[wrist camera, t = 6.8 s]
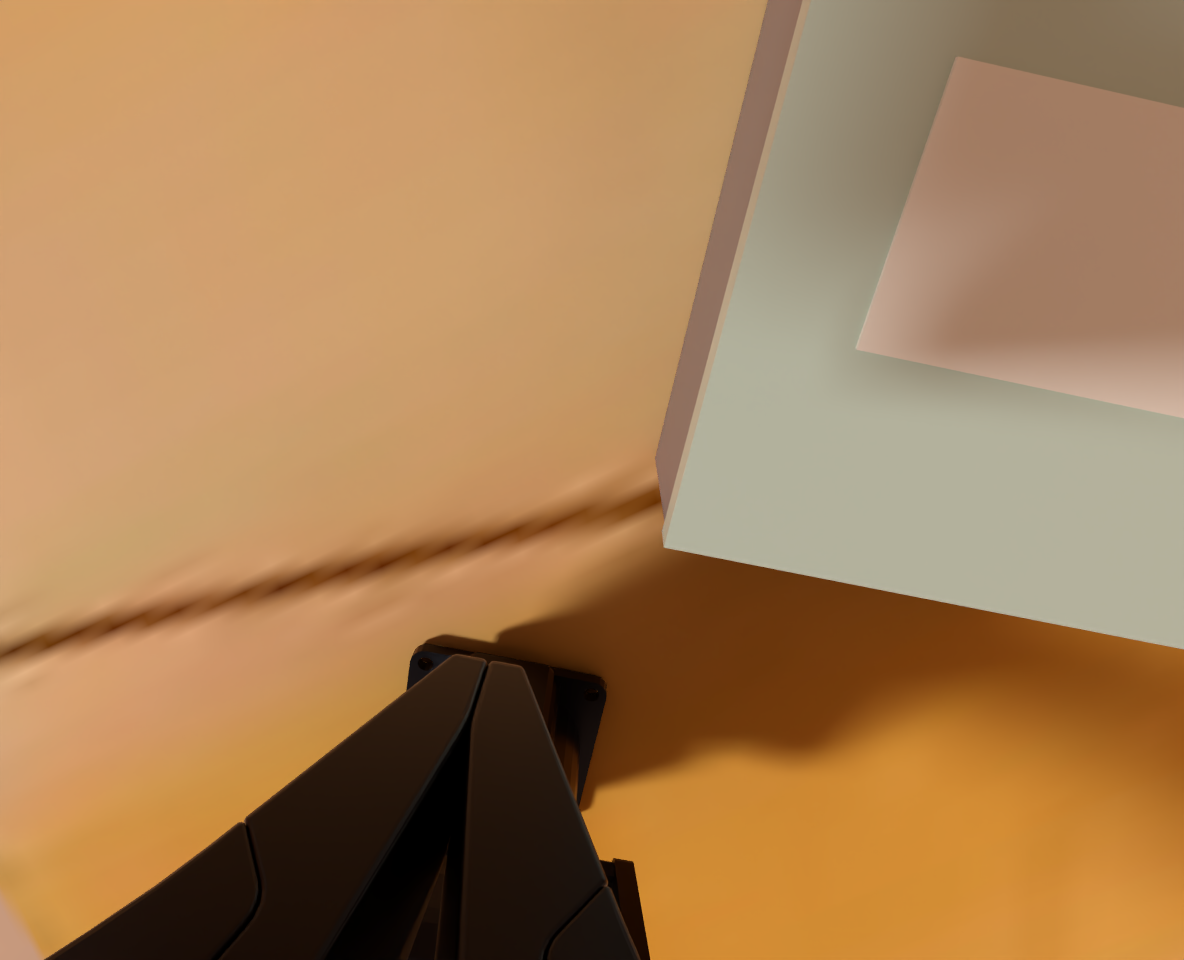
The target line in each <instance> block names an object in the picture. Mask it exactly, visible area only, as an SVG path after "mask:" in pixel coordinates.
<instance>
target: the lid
mask: <svg viewBox="0 0 1184 960" xmlns="http://www.w3.org/2000/svg"><path fill="white" fill-rule="evenodd" d="M662 536H663V545H664V548H669V549H674V550H679V551H684V552H689V553H694V554H700V555H705V556H710V557H715V558H720V559H725V560H730V561H735V562H740V563H746V564H751V565H756V566H761V567H766V568H771V569H776V570H781V571H786V572H791V573H797V574H802V575H807V576H812V577H817V578H822V579H827V580H832V581H837V582H843V583H848V584H853V585H858V586H863V587H868V588H873V589H878V590H883V591H888V592H894V593H899V594H904V595H909V596H914V597H919V598H924V599H929V600H934V601H940V602H945V603H950V604H955V605H960V606H965V607H970V608H975V609H980V610H985V611H991V612H996V613H1001V614H1006V615H1011V616H1016V617H1021V618H1026V619H1031V620H1037V621H1042V622H1047V623H1052V624H1057V625H1062V626H1067V627H1072V628H1077V629H1082V630H1088V631H1093V632H1098V633H1103V634H1108V635H1113V636H1118V637H1123V638H1128V639H1134V640H1139V641H1144V642H1149V643H1154V644H1159V645H1164V646H1169V647H1174V648H1179V649H1184V0H803V1H802V4H801V8H800V12H799V16H798V20H797V23H796V27H795V31H794V35H793V38H792V42H791V46H790V50H789V53H788V57H787V61H786V65H785V69H784V72H783V76H782V80H781V84H780V87H779V91H778V95H777V99H776V103H775V106H774V110H773V114H772V118H771V121H770V125H769V129H768V133H767V137H766V140H765V144H764V148H763V152H762V155H761V159H760V163H759V167H758V170H757V174H756V178H755V182H754V186H753V189H752V193H751V197H750V201H749V204H748V208H747V212H746V216H745V220H744V223H743V227H742V231H741V235H740V238H739V242H738V246H737V250H736V253H735V257H734V261H733V265H732V269H731V272H730V276H729V280H728V284H727V287H726V291H725V295H724V299H723V303H722V306H721V310H720V314H719V318H718V321H717V325H716V329H715V333H714V337H713V340H712V344H711V348H710V352H709V355H708V359H707V363H706V367H705V370H704V374H703V378H702V382H701V386H700V389H699V393H698V397H697V401H696V404H695V408H694V412H693V416H692V420H691V423H690V427H689V431H688V435H687V438H686V442H685V446H684V450H683V453H682V457H681V461H680V465H679V469H678V472H677V476H676V480H675V484H674V487H673V491H672V495H671V499H670V503H669V506H668V510H667V514H666V518H665V521H664V525H663V529H662Z"/></svg>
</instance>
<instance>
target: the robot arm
mask: <svg viewBox="0 0 1184 960" xmlns="http://www.w3.org/2000/svg"><path fill="white" fill-rule="evenodd" d="M421 658H429V659H431V661H432V662H433V663H426V662H424V661H423V660H422V659H421ZM606 688H607V685H606V683H605V681H604V680H603V679H602V678H601V677H598V676H596V675H591V674H586V673H581V672H575V671H570V670H565V669H559V668H554V667H549V666H548V665H543V664H538V663H533V662H527V661H522V660H517V659H511V658H506V657H501V656H495V655H490V654H485V653H479V652H476V653H474V652H469V651H464V650H458V649H453V648H448V647H442V646H437V645H432V644H423V645H420V646H418V647H417V648H416V649H415V651H414V653H413V656H412V658H411V661H410V667H409V675H408V682H407V690H406V692H405V693H403V694H402V695H401V696H400V697H398V698H397V699H396V700H395V701H393V702H392V703H391V704H389V705H388V706H387V707H386V708H384V709H383V710H382V711H381V712H379V713H378V714H377V715H375V716H374V717H373V718H372V719H370V720H369V721H368V722H366V723H365V724H364V725H363V726H361V727H360V728H359V729H358V730H356V731H355V732H354V733H352V734H351V735H350V736H349V737H347V738H346V739H345V740H344V741H342V742H341V743H340V744H338V745H337V746H336V747H335V748H333V749H332V750H331V751H330V752H328V753H327V754H326V755H324V756H323V757H322V758H321V759H319V760H318V761H317V762H316V763H314V764H313V765H312V766H310V767H309V768H308V769H307V770H305V771H304V772H303V773H302V774H300V775H299V776H298V777H296V778H295V779H294V780H293V781H291V782H290V783H289V784H288V785H286V786H285V787H284V788H282V789H281V790H280V791H279V792H277V793H276V794H275V795H274V796H272V797H271V798H270V799H268V800H267V801H266V802H265V803H263V804H262V805H261V806H260V807H258V808H257V809H256V810H254V811H253V812H252V813H251V814H249V815H248V816H247V817H246V818H245V820H244V823H243V822H239V823H237V824H236V825H235V826H233V827H232V828H231V829H230V830H228V831H227V832H226V833H225V834H223V835H222V836H221V837H219V838H218V839H217V840H216V841H214V842H213V843H212V844H211V845H209V846H208V847H207V848H205V849H204V850H203V851H201V852H200V853H199V854H197V855H196V856H195V857H193V858H192V859H191V860H189V861H188V862H187V863H185V864H184V865H183V866H181V867H180V868H178V869H177V870H176V871H174V872H173V873H172V874H170V875H169V876H168V877H166V878H165V879H164V880H162V881H161V882H160V883H158V884H157V885H156V886H154V887H153V888H151V889H150V890H148V891H147V892H145V893H144V894H142V895H141V896H139V897H138V898H136V899H135V900H134V901H132V902H131V903H129V904H128V905H126V906H125V907H123V908H122V909H120V910H119V911H117V912H116V913H114V914H113V915H111V916H110V917H108V918H107V919H105V920H104V921H103V922H101V923H100V924H98V925H97V926H95V927H94V928H92V929H91V930H89V931H88V932H86V933H85V934H83V935H81V936H80V937H78V938H77V939H75V940H74V941H72V942H71V943H69V944H68V945H66V946H64V947H63V948H61V949H60V950H58V951H57V952H55V953H54V954H52V955H51V956H49V957H48V958H46V959H44V960H650V955H649V950H648V944H647V938H646V932H645V926H644V921H643V915H642V909H641V903H640V897H639V892H638V886H637V880H636V874H635V868H634V863H633V862H632V861H627V860H621V859H616V858H614V859H613V861H612V862H609V861H604V860H599V857H598V855H597V852H596V850H595V847H594V845H593V842H592V840H591V837H590V835H589V832H588V830H587V827H586V825H585V822H584V819H583V817H582V814H581V812H580V809H579V804H580V800H581V796H582V792H583V788H584V784H585V780H586V776H587V772H588V768H589V764H590V760H591V756H592V752H593V748H594V744H595V741H596V737H597V733H598V729H599V725H600V721H601V717H602V713H603V709H604V705H605V701H606ZM587 689H595V690H597V691H598V692H596V693H594V694H590V693H588V692H586V690H587Z"/></svg>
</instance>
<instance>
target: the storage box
mask: <svg viewBox="0 0 1184 960" xmlns="http://www.w3.org/2000/svg"><path fill="white" fill-rule="evenodd" d="M802 1H803V0H768V3H767V7H766V11H765V15H764V20H763V24H762V28H761V32H760V36H759V40H758V44H757V48H756V52H755V56H754V60H753V64H752V68H751V72H750V76H749V80H748V84H747V88H746V92H745V97H744V101H743V105H742V109H741V113H740V117H739V121H738V125H737V129H736V133H735V137H734V141H733V145H732V149H731V153H730V157H729V161H728V165H727V169H726V174H725V178H724V182H723V186H722V190H721V194H720V198H719V202H718V206H717V210H716V214H715V218H714V222H713V226H712V230H711V234H710V238H709V242H708V246H707V251H706V255H705V259H704V263H703V267H702V271H701V275H700V279H699V283H698V287H697V291H696V295H695V299H694V303H693V307H692V311H691V315H690V319H689V323H688V327H687V332H686V336H685V340H684V344H683V348H682V352H681V356H680V360H679V364H678V368H677V372H676V376H675V380H674V384H673V388H672V392H671V396H670V400H669V404H668V409H667V413H666V417H665V421H664V425H663V429H662V433H661V437H660V441H659V445H658V449H657V453H656V457H655V460H656V467H657V473H658V480H659V487H660V494H661V500H662V507H663V514H664V521H665V518H666V514H667V510H668V506H669V503H670V499H671V495H672V491H673V487H674V484H675V480H676V476H677V472H678V469H679V465H680V461H681V457H682V453H683V450H684V446H685V442H686V438H687V435H688V431H689V427H690V423H691V420H692V416H693V412H694V408H695V404H696V401H697V397H698V393H699V389H700V386H701V382H702V378H703V374H704V370H705V367H706V363H707V359H708V355H709V352H710V348H711V344H712V340H713V337H714V333H715V329H716V325H717V321H718V318H719V314H720V310H721V306H722V303H723V299H724V295H725V291H726V287H727V284H728V280H729V276H730V272H731V269H732V265H733V261H734V257H735V253H736V250H737V246H738V242H739V238H740V235H741V231H742V227H743V223H744V220H745V216H746V212H747V208H748V204H749V201H750V197H751V193H752V189H753V186H754V182H755V178H756V174H757V170H758V167H759V163H760V159H761V155H762V152H763V148H764V144H765V140H766V137H767V133H768V129H769V125H770V121H771V118H772V114H773V110H774V106H775V103H776V99H777V95H778V91H779V87H780V84H781V80H782V76H783V72H784V69H785V65H786V61H787V57H788V53H789V50H790V46H791V42H792V38H793V35H794V31H795V27H796V23H797V20H798V16H799V12H800V8H801V4H802Z"/></svg>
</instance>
